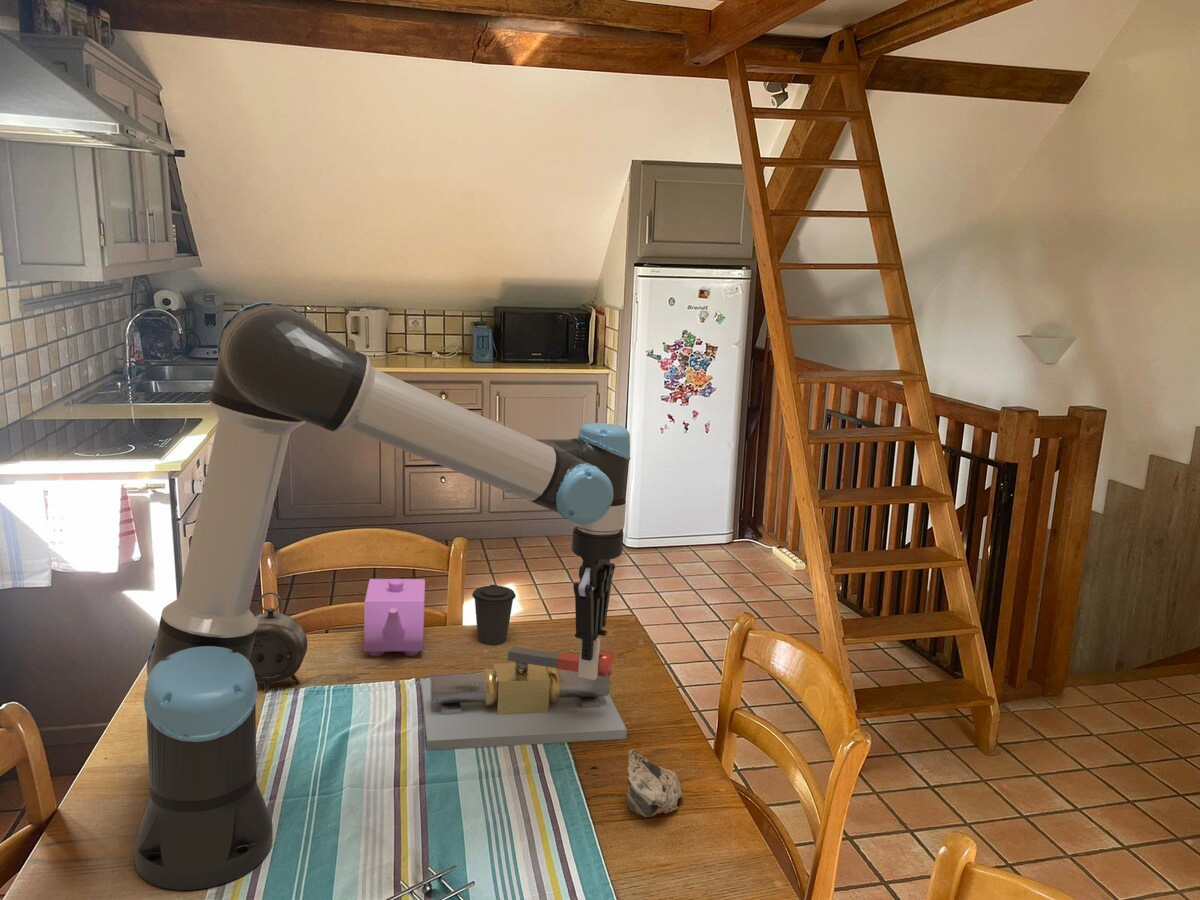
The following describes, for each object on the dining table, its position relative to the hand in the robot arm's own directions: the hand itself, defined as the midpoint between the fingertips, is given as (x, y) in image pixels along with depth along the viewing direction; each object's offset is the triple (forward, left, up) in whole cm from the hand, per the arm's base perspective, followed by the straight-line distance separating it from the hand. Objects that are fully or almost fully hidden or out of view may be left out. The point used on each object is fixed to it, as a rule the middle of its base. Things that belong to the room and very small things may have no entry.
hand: (587, 676), depth 146 cm
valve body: (+7, +9, -7) cm, 13 cm away
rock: (-21, -5, -9) cm, 24 cm away
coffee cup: (+36, +10, -9) cm, 38 cm away
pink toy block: (+33, +28, -9) cm, 44 cm away
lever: (+4, +3, -2) cm, 6 cm away
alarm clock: (+20, +48, -9) cm, 53 cm away
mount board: (+7, +9, -9) cm, 14 cm away
